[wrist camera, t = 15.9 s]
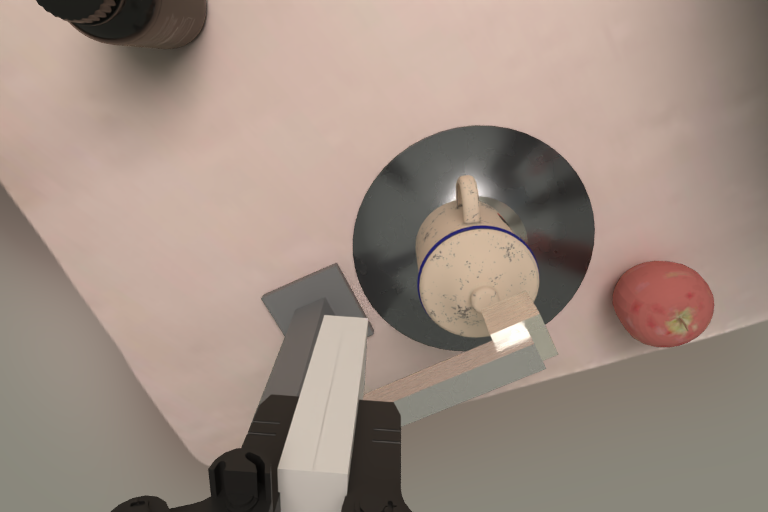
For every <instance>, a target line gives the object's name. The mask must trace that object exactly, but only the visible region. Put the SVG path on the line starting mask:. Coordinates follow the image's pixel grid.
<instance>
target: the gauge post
mask: <svg viewBox="0 0 768 512" xmlns="http://www.w3.org/2000/svg"><path fill="white" fill-rule="evenodd" d="M261 299H262V301H263V302H264V304H265V305H266V307H267V309H268V310H269V312H270V313H271V315H272V317H273V318H274V320H275V321H276V323H277V324H278V326H279V328H280V329H281V331H282V332H283V334H284V335H285V338H284V341H283V343H282V346H281V348H280V351H279V354H278V356H277V359H276V361H275V364H274V366H273V369H272V372H271V374H270V377H269V379H268V382H267V384H266V387H265V390H264V392H263V395H262V397H261V400H260V402H259V405H260V404H261V403H262V402H264V401H265V400H266V399H267V398H268V397H269V396H270V395H271V394H273V395H287V396H300V393H301V390H302V387H303V383H304V380H305V377H306V374H307V370H308V367H309V364H310V360H311V357H312V354H313V351H314V347H315V344H316V341H317V337H318V334H319V331H320V328H321V324H322V321H323V318H324V315H331V316H345V317H359V318H367V317H366V315H365V313H364V311H363V309H362V308H361V306H360V304H359V302H358V300H357V298H356V297H355V295H354V293H353V291H352V289H351V288H350V286H349V284H348V282H347V280H346V279H345V277H344V275H343V273H342V271H341V269H340V268H339V266H338V264H337V263H335V264H333V265H330V266H328V267H326V268H323V269H321V270H319V271H317V272H314V273H312V274H310V275H307V276H305V277H303V278H301V279H298V280H296V281H294V282H292V283H289V284H287V285H285V286H282V287H280V288H278V289H276V290H273V291H271V292H269V293H266V294H264V295H263V296H262V298H261ZM373 334H374V329H373V328H372V326H371V324H370V322H369V320H368V332H367V337H368V336H370V335H373ZM259 405H258V407H259ZM257 409H258V408H257ZM256 412H257V410H256ZM255 414H256V413H255ZM254 416H255V415H254ZM253 419H254V418H253ZM252 423H253V420H252ZM252 423H251V424H252Z"/></svg>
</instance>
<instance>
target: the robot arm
mask: <svg viewBox="0 0 768 512" xmlns="http://www.w3.org/2000/svg"><path fill="white" fill-rule="evenodd" d="M367 332H368V318H359V317H345V316H331V315H324V318H323V321H322V324H321V328H320V331H319V334H318V337H317V341H316V344H315V347H314V351H313V354H312V357H311V360H310V364H309V367H308V370H307V374H306V377H305V380H304V383H303V387H302V390H301V393H300V396H287V395H273V394H271V395H270V396H269V397H268V398H267V399H266V400H265V401H264V402H262V403H261V404H260V405H259V407H258V409H257V412H256V414H255V416H254V419H253V423H252V424H251V426H250V428H249V431H248V434H247V436H246V438H245V441H244V443H243V445H242V448H238V449H234V450H231V451H229V452H226V453H224V454H223V455H221V456H220V457H218V458H217V459H216V460H215V461H214V462H213V463H212V465H211V466H210V467H209V469H208V470H209V480H210V490H211V497H209V498H207V499H205V500H203V501H201V502H197V503H194V504H190V505H185V506H181V507H176V508H171V509H169V508H168V506H167V504H166V502H165V501H163V500H162V499H160V498H158V497H155V496H141V497H136V498H132V499H130V500H128V501H126V502H124V503H122V504H120V505H118V506H117V507H116V508H115V509H113V510H112V511H111V512H412V511H411V510H410V509H409V508H408V506H407V505H406V504H405V502H404V500H403V497H402V494H401V415H400V413H399V411H398V409H397V407H396V405H395V404H394V402H384V401H371V400H363V394H364V385H365V368H366V350H367Z"/></svg>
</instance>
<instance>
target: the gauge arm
mask: <svg viewBox="0 0 768 512" xmlns="http://www.w3.org/2000/svg"><path fill="white" fill-rule="evenodd" d="M481 312H482V314H483V317H484V320H485V323H486V325H487V328H488V331H489V333H490V336H491V338H492V341H490V342H488V343H485V344H483V345H480V346H478V347H476V348H473V349H471V350H469V351H466V352H464V353H462V354H459V355H457V356H454V357H452V358H450V359H447V360H445V361H443V362H440V363H438V364H435V365H433V366H431V367H428V368H426V369H424V370H421V371H419V372H416V373H414V374H412V375H409V376H407V377H405V378H402V379H400V380H397V381H395V382H393V383H390V384H388V385H386V386H383V387H381V388H379V389H376V390H374V391H371V392H369V393H367V394H364V395H363V400H371V401H384V402H394V404H395V405H396V407H397V409H398V411H399V413H400V415H401V427H402V426H405V425H407V424H410V423H412V422H415V421H417V420H420V419H422V418H424V417H427V416H429V415H432V414H434V413H437V412H439V411H442V410H444V409H447V408H449V407H452V406H454V405H457V404H459V403H462V402H464V401H467V400H469V399H472V398H474V397H477V396H479V395H482V394H484V393H487V392H489V391H492V390H494V389H497V388H499V387H502V386H504V385H507V384H509V383H512V382H514V381H517V380H519V379H522V378H524V377H527V376H529V375H532V374H534V373H537V372H539V371H542V370H544V369H546V367H545V365H544V363H543V361H544V360H546V359H548V358H551V357H553V356H556V355H558V353H557V350H556V348H555V346H554V344H553V342H552V339H551V337H550V335H549V333H548V330H547V328H546V326H545V324H544V322H543V319H542V317H541V315H540V313H539V311H538V310H537V308H536V306H535V305H534V303H533V301H532V300H531V298H530V296H529V295H528V293H527V291H526V290H525V291H523V292H520V293H518V294H516V295H513V296H511V297H509V298H507V299H504V300H502V301H500V302H497V303H495V304H493V305H490V306H488V307H486V308H484V309H481Z"/></svg>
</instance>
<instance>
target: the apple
mask: <svg viewBox="0 0 768 512" xmlns="http://www.w3.org/2000/svg"><path fill="white" fill-rule="evenodd" d="M613 306H614V309H615V312H616V314H617V316H618V318H619V319H620V321H621V323H622V324H623V326H624V327H625V329H626V330H627V331H628V332H629V333H630V335H631V336H632V337H633V338H634V339H636V340H638V341H640V342H642V343H644V344H647V345H651V346H655V347H674V346H680V345H682V344H685V343H688V342H690V341H691V340H693V339H695V338H696V337H698V336H699V335H700V334H701V333H702V332H703V331H704V330H705V329H706V328H707V326H708V325H709V323H710V321H711V319H712V316H713V311H714V298H713V294H712V292H711V290H710V288H709V286H708V284H707V283H706V282H705V281H704V279H703V278H702V277H701V276H700V275H699V274H698V273H697V272H696V271H694V270H693V269H691V268H689V267H687V266H685V265H683V264H678V263H674V262H668V261H652V262H646V263H642V264H639V265H636V266H634V267H632V268H631V269H629V270H628V271H627V272H625V273H624V274H623V275H622V276H621V278H620V279H619V281H618V282H617V284H616V287H615V290H614V292H613Z"/></svg>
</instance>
